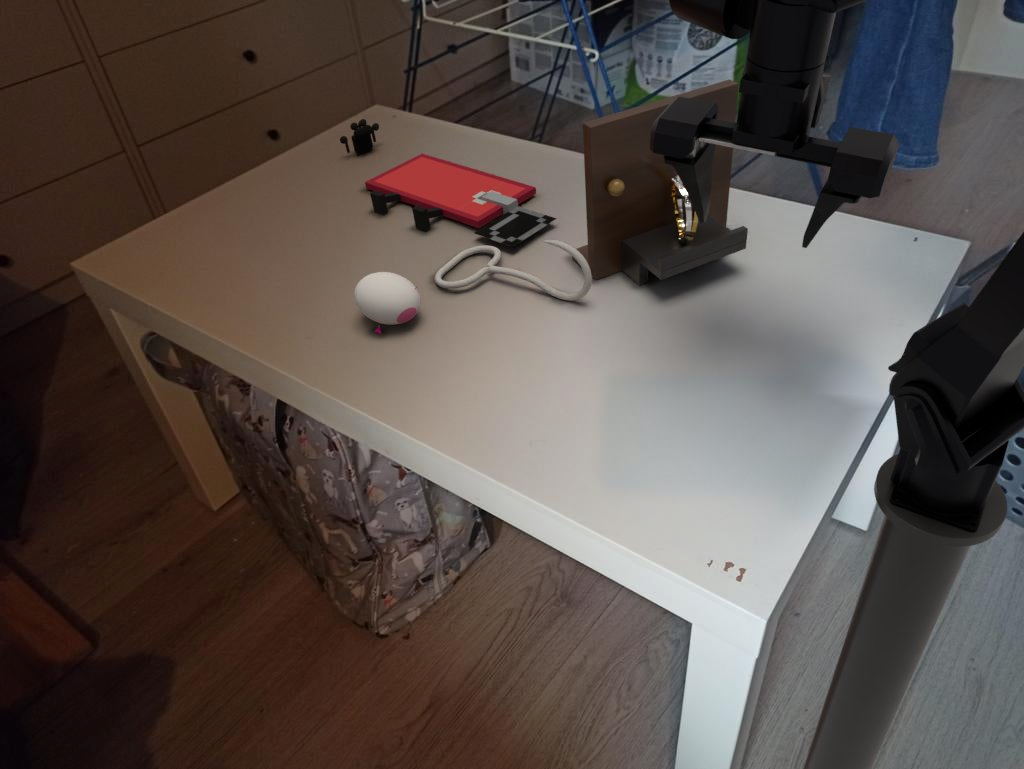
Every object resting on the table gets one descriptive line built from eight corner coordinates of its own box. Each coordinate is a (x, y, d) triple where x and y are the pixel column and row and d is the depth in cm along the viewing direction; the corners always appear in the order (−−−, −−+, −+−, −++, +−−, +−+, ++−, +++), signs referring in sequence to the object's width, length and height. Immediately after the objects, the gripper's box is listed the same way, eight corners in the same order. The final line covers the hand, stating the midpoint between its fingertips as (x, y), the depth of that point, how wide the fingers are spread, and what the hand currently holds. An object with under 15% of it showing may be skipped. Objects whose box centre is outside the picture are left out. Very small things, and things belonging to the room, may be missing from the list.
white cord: (574, 327, 83) (431, 303, 94) (616, 281, 89) (476, 264, 100) (561, 265, 79) (413, 249, 90) (606, 222, 84) (461, 211, 96)
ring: (663, 225, 90) (665, 159, 85) (691, 222, 90) (695, 156, 85) (672, 257, 85) (675, 189, 80) (703, 255, 85) (707, 186, 79)
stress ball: (432, 340, 90) (444, 282, 89) (394, 342, 83) (406, 279, 82) (378, 324, 93) (388, 268, 92) (336, 324, 86) (347, 263, 85)
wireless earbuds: (380, 143, 126) (373, 112, 122) (389, 147, 124) (382, 116, 121) (343, 158, 123) (335, 127, 119) (351, 163, 121) (343, 131, 118)
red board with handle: (502, 260, 95) (580, 210, 103) (500, 239, 93) (579, 190, 101) (346, 201, 112) (423, 162, 120) (341, 183, 110) (420, 144, 118)
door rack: (768, 262, 89) (789, 105, 78) (632, 313, 85) (632, 155, 73) (698, 214, 99) (706, 68, 87) (571, 258, 94) (563, 110, 83)
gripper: (937, 35, 61) (882, 211, 72) (703, 5, 68) (685, 169, 79) (910, 93, 54) (853, 278, 65) (653, 53, 61) (641, 225, 72)
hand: (753, 232), depth 70 cm, fingers open, 9 cm apart
